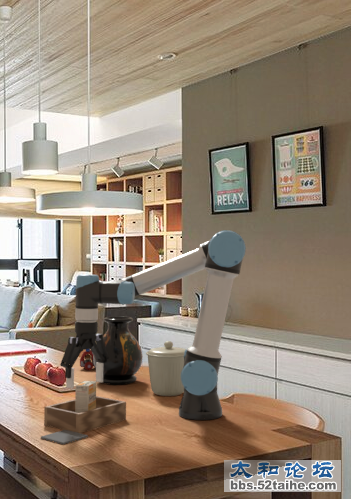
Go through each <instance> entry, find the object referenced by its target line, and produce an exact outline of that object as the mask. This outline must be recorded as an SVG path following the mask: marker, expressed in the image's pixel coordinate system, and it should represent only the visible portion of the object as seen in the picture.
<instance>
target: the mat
mask: <svg viewBox="0 0 352 499" xmlns="http://www.w3.org/2000/svg"><path fill="white" fill-rule="evenodd" d="M86 437H87V438H89V435H88V434H84V433H77V432H73V431H69V430H62V429H61V430H60V431H56V432H52V433H49V434H46V435H42V436H40V439H41V438H42V439H41V440H44V439H46V440H45V441H48V440H50V441H49V442H52V441H54V442H53V443H55V442H57V443H56V444H59V443H60V444H59V445H63V444H64V445H67V444H70V443H69V442H71V443H73V442H72V441H74V442H76V441H75V440H77V441H80V440H83V439H82V438H84V439H86ZM79 439H80V440H79ZM66 443H67V444H66Z"/></svg>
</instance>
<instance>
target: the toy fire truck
mask: <svg viewBox="0 0 352 499" xmlns="http://www.w3.org/2000/svg"><path fill="white" fill-rule="evenodd" d="M93 355H94V354H93V352H92V351H91V349H86V350H85V351H82V354H81V356H80V359H79V366H80V367H81V368H84V369H85V370H86V371H91V370H93V368H95V366H94V363H93Z"/></svg>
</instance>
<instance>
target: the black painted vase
mask: <svg viewBox="0 0 352 499" xmlns="http://www.w3.org/2000/svg"><path fill="white" fill-rule="evenodd" d="M133 320H134V319H133V318H132V317H130V316H106V317H104V318H103V321H104V322H105V323H107V326H108V327H107V331H105V333H104V334H103V341H104V344H105V347H106V350H107V353H108V356H109V360H107V363H104V372H103V382H102V384H105V385H113V386H120V385H130V384H133V383H135V382H136V381H137V379H138V378H137V376H136V374H137V373H138V372H139V369H141V366H142V365H143V351H142V347H141V346H140V343H139V340H137V339H136V337H135V336H134V335H133V334H132V333H131V331H130V330H129V323H131V322H133ZM96 362H98V360H97V359H96V357H95V355H93V363H94V366H95V367H94V366H93V367H94V368H95V369H96Z"/></svg>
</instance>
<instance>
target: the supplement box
mask: <svg viewBox="0 0 352 499" xmlns="http://www.w3.org/2000/svg"><path fill="white" fill-rule="evenodd" d="M96 396H97V382H96V380H95V381H94V380H84V381H82V382H80V383H78V384H76V385H75V399H74V400H75V412H77V413H81V412H85V411H88V410H92V409H96Z"/></svg>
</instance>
